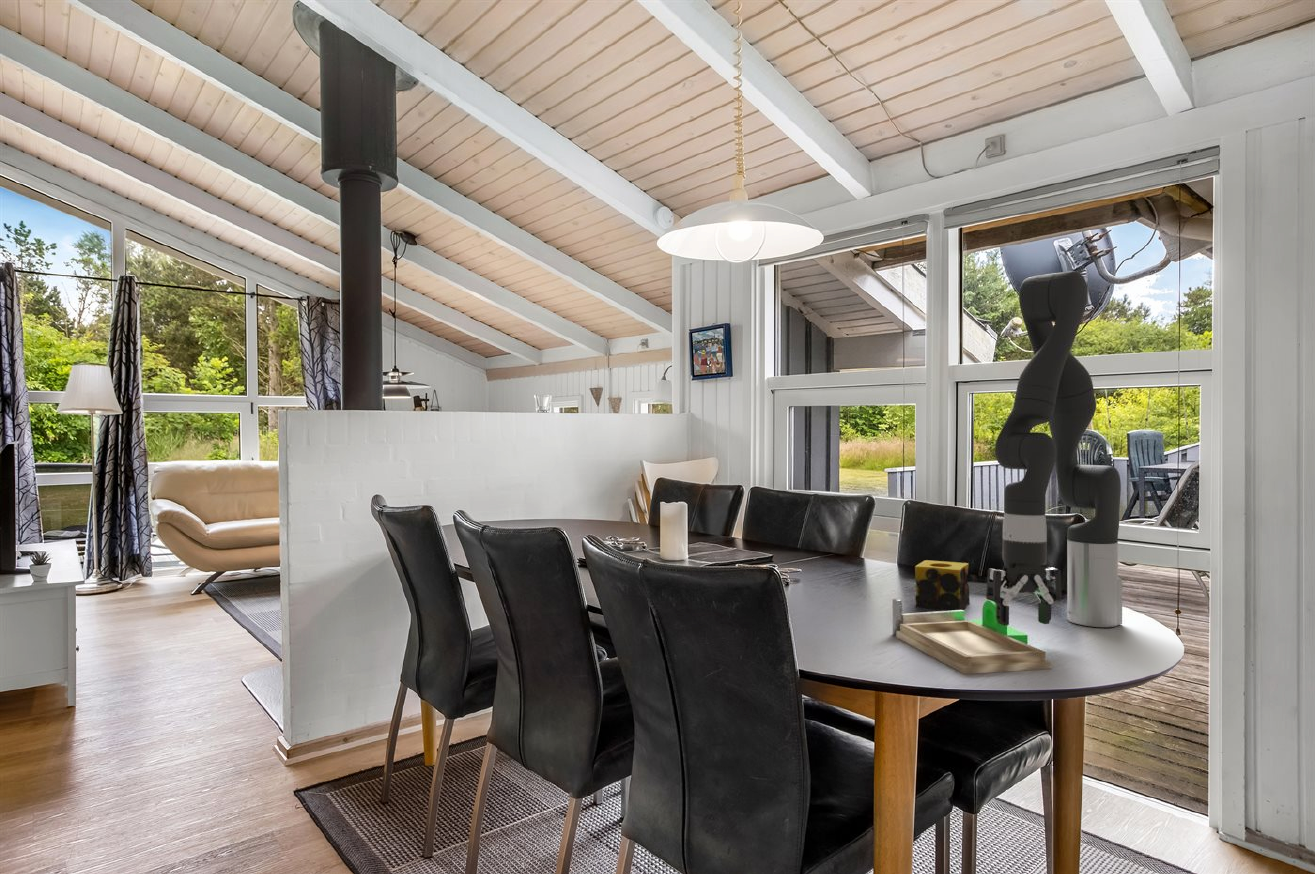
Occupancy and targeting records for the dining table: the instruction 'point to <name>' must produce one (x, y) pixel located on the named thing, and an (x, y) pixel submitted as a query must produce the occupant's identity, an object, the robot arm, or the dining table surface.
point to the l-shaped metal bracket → (922, 616)
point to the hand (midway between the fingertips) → (1023, 623)
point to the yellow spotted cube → (942, 585)
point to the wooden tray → (972, 647)
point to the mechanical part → (993, 624)
